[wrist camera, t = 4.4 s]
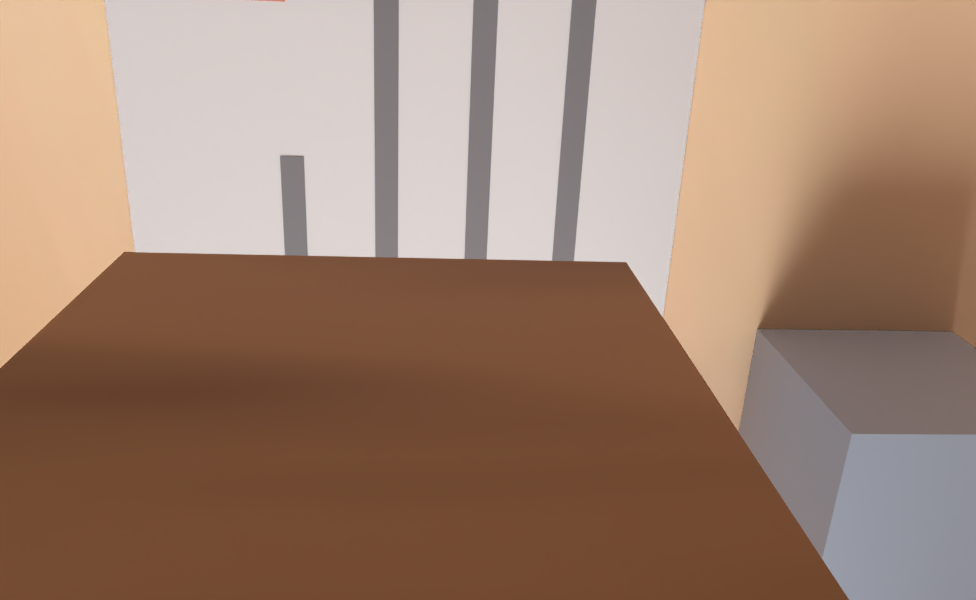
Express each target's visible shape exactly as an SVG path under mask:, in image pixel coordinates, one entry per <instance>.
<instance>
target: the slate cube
mask: <svg viewBox="0 0 976 600" xmlns="http://www.w3.org/2000/svg"><path fill="white" fill-rule="evenodd" d="M739 434H740V435H741V437H742V438H743V440H744V441H745V443H746V444H747V446H748V447H749V449H750V450H751V452H752V453H753V455H754V456H755V458H756V460H757V461H758V463H759V464H760V466H761V467H762V469H763V470H764V472H765V473H766V475H767V476H768V478H769V479H770V481H771V482H772V484H773V485H774V487H775V488H776V490H777V491H778V493H779V494H780V496H781V497H782V499H783V500H784V502H785V503H786V505H787V506H788V508H789V510H790V511H791V513H792V514H793V516H794V517H795V519H796V520H797V522H798V523H799V525H800V526H801V528H802V529H803V531H804V532H805V534H806V535H807V537H808V538H809V540H810V541H811V543H812V544H813V546H814V547H815V549H816V550H817V552H818V553H819V555H820V556H821V558H822V560H823V561H824V563H825V564H826V566H827V567H828V569H829V570H830V572H831V573H832V575H833V576H834V578H835V579H836V581H837V582H838V584H839V585H840V587H841V588H842V590H843V591H844V593H845V594H846V596H847V597H848V599H849V600H976V348H975V347H973V346H972V345H971V344H969V343H968V342H966V341H965V340H963V339H962V338H961V337H959V336H958V335H956V334H955V333H954V332H947V331H877V330H806V329H757V333H756V339H755V344H754V350H753V355H752V361H751V366H750V372H749V378H748V383H747V389H746V394H745V400H744V405H743V411H742V417H741V422H740V428H739Z"/></svg>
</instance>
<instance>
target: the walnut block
mask: <svg viewBox="0 0 976 600" xmlns="http://www.w3.org/2000/svg"><path fill="white" fill-rule="evenodd" d="M0 600H849V599H848V597H847V596H846V594H845V593H844V591H843V590H842V588H841V587H840V585H839V584H838V582H837V581H836V579H835V578H834V576H833V575H832V573H831V572H830V570H829V569H828V567H827V566H826V564H825V563H824V561H823V560H822V558H821V556H820V555H819V553H818V552H817V550H816V549H815V547H814V546H813V544H812V543H811V541H810V540H809V538H808V537H807V535H806V534H805V532H804V531H803V529H802V528H801V526H800V525H799V523H798V522H797V520H796V519H795V517H794V516H793V514H792V513H791V511H790V510H789V508H788V506H787V505H786V503H785V502H784V500H783V499H782V497H781V496H780V494H779V493H778V491H777V490H776V488H775V487H774V485H773V484H772V482H771V481H770V479H769V478H768V476H767V475H766V473H765V472H764V470H763V469H762V467H761V466H760V464H759V463H758V461H757V460H756V458H755V456H754V455H753V453H752V452H751V450H750V449H749V447H748V446H747V444H746V443H745V441H744V440H743V438H742V437H741V435H740V434H739V432H738V431H737V429H736V428H735V426H734V425H733V423H732V422H731V420H730V419H729V417H728V416H727V414H726V413H725V411H724V410H723V408H722V406H721V405H720V403H719V402H718V400H717V399H716V397H715V396H714V394H713V393H712V391H711V390H710V388H709V387H708V385H707V384H706V382H705V381H704V379H703V378H702V376H701V375H700V373H699V372H698V370H697V369H696V367H695V366H694V364H693V363H692V361H691V360H690V358H689V356H688V355H687V353H686V352H685V350H684V349H683V347H682V346H681V344H680V343H679V341H678V340H677V338H676V337H675V335H674V334H673V332H672V331H671V329H670V328H669V326H668V325H667V323H666V322H665V320H664V319H663V317H662V316H661V314H660V313H659V311H658V310H657V308H656V306H655V305H654V303H653V302H652V300H651V299H650V297H649V296H648V294H647V293H646V291H645V290H644V288H643V287H642V285H641V284H640V282H639V281H638V279H637V278H636V276H635V275H634V273H633V272H632V270H631V269H630V267H629V266H628V264H627V263H626V262H594V261H545V260H495V259H446V258H396V257H347V256H298V255H248V254H199V253H149V252H124V253H123V254H122V255H121V256H120V257H118V258H117V259H116V260H115V261H114V262H113V263H112V264H111V265H110V266H109V267H108V268H107V269H106V270H105V271H104V272H102V273H101V274H100V275H99V276H98V277H97V278H96V279H95V280H94V281H93V282H92V283H91V284H90V285H89V286H88V287H87V288H85V289H84V290H83V291H82V292H81V293H80V294H79V295H78V296H77V297H76V298H75V299H74V300H73V301H72V302H71V303H69V304H68V305H67V306H66V307H65V308H64V309H63V310H62V311H61V312H60V313H59V314H58V315H57V316H56V317H55V318H54V319H52V320H51V321H50V322H49V323H48V324H47V325H46V326H45V327H44V328H43V329H42V330H41V331H40V332H39V333H38V334H36V335H35V336H34V337H33V338H32V339H31V340H30V341H29V342H28V343H27V344H26V345H25V346H24V347H23V348H22V349H21V350H19V351H18V352H17V353H16V354H15V355H14V356H13V357H12V358H11V359H10V360H9V361H8V362H7V363H6V364H5V365H3V366H2V367H1V368H0Z"/></svg>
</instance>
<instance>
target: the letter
mask: <svg viewBox="0 0 976 600" xmlns="http://www.w3.org/2000/svg"><path fill="white" fill-rule="evenodd" d="M104 1H105V9H106V17H107V26H108V34H109V42H110V50H111V59H112V67H113V75H114V83H115V92H116V100H117V108H118V117H119V125H120V133H121V141H122V150H123V158H124V166H125V174H126V183H127V191H128V199H129V207H130V216H131V224H132V232H133V241H134V249H135V252H149V253H199V254H248V255H298V256H347V257H396V258H446V259H495V260H545V261H594V262H626V263H627V264H628V266H629V267H630V269H631V270H632V272H633V273H634V275H635V276H636V278H637V279H638V281H639V282H640V284H641V285H642V287H643V288H644V290H645V291H646V293H647V294H648V296H649V297H650V299H651V300H652V302H653V303H654V305H655V306H656V308H657V310H658V311H659V313H660V314H661V316H662V317H663V313H664V306H665V298H666V291H667V283H668V276H669V268H670V261H671V253H672V246H673V238H674V231H675V223H676V216H677V208H678V201H679V193H680V186H681V178H682V171H683V163H684V155H685V148H686V140H687V133H688V125H689V118H690V110H691V103H692V95H693V88H694V80H695V73H696V65H697V58H698V50H699V43H700V35H701V28H702V20H703V13H704V5H705V0H104Z"/></svg>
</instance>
